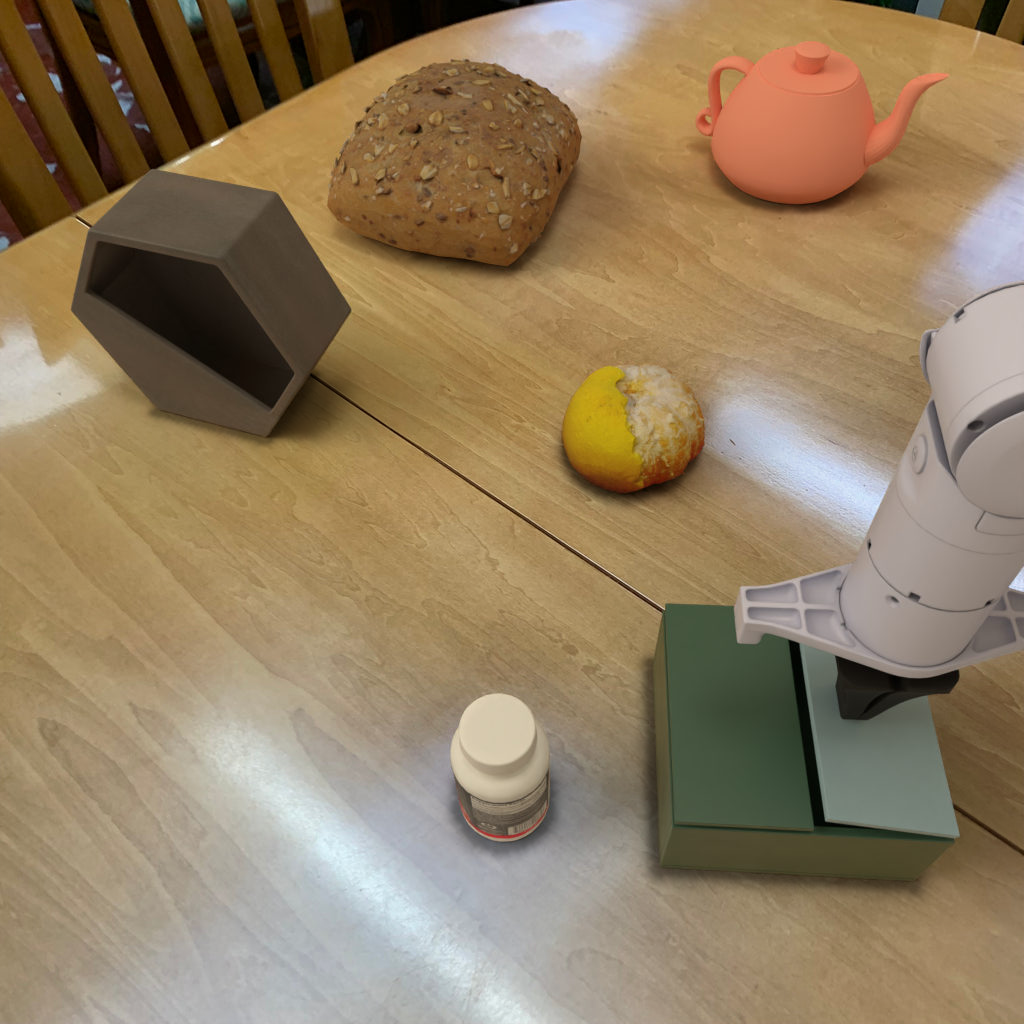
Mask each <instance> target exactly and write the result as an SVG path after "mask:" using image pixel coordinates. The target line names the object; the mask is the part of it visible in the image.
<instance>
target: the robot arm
mask: <svg viewBox="0 0 1024 1024" xmlns="http://www.w3.org/2000/svg"><path fill="white" fill-rule="evenodd" d="M918 359H919V364H920V368H921V372H922V375H923V377H924V379H925V381H926V382H927V384H928V385H929V387H930V390H931V393H930V396H929V398H928V401H927V403H926V406H925V407H924V410H923V411H922V414H921V416H920V418H919V420H918V422H917V425H916V427H915V429H914V431H913V433H912V435H911V438H910V440H909V442H908V444H907V446H906V448H905V450H904V452H903V453H902V454H901V455H902V456H901V458H900V459H899V462H898V464H897V466H896V469H895V471H894V472H893V475H892V478H891V479H890V481H889V484H888V486H887V488H886V490H885V493H884V494H883V497H882V499H881V502H880V504H879V505H878V508H877V510H876V512H875V514H874V516H873V518H872V521H871V523H870V525H869V527H868V529H867V532H866V534H865V536H864V539H863V540H862V543H861V545H860V547H859V549H858V552H857V554H856V555H855V557H854V559H853V562H849V563H846V564H845V563H844V564H842V565H838V566H835V567H831V568H828V569H824V570H820V571H816V572H814V573H813V572H812V573H809V574H806V575H802V576H798V577H795V578H791V579H787V580H784V581H780V582H776V583H771V584H764V585H762V584H761V585H740V587H739V589H738V593H737V596H736V599H735V603H734V605H733V606H734V615H735V627H736V635H737V643H739V644H758V643H759V642H760V641H761V638H762V635H763V634H765V633H768V634H773V635H776V636H779V637H783V638H786V639H789V640H792V641H795V642H798V643H801V644H804V645H807V646H810V647H813V648H816V649H819V650H822V651H825V652H827V653H830V654H833V655H835V659H836V665H837V671H838V675H837V681H836V686H835V687H836V693H837V699H838V705H839V711H840V717H841V718H842V719H849V720H869V719H871V718H873V717H875V716H877V715H879V714H881V713H882V712H884V711H886V710H888V709H890V708H892V707H894V706H896V705H898V704H900V703H902V702H905V701H908V700H910V699H914V698H918V697H922V696H933V695H934V696H935V695H949V694H951V692H952V691H953V690H954V688H955V687H956V685H957V684H958V682H959V680H960V677H961V676H960V669H964V668H967V667H971V666H974V665H977V664H981V663H985V662H988V661H990V660H995V659H997V658H1001V657H1004V656H1008V655H1011V654H1015V653H1018V652H1020V651H1024V591H1022V590H1019V589H1015V588H1011V587H1010V586H1011V584H1012V583H1013V582H1014V581H1015V580H1016V578H1017V576H1018V575H1019V574H1020V573H1021V571H1022V570H1023V568H1024V280H1015V281H1011V282H1005V283H1002V284H999V285H996V286H993V287H991V288H987V289H986V290H984V291H981V292H980V293H979V292H978V294H976V295H974V296H972V297H970V298H969V299H968V300H966V301H965V302H964V303H962V304H961V305H960V306H959V307H958V308H956V309H955V310H954V311H953V312H952V313H951V314H950V316H949V317H948V318H947V319H946V320H945V322H944V324H943V325H941V326H940V327H938V328H928V329H926V330H925V331H924V332H923V333H922V335H921V338H920V341H919V346H918Z"/></svg>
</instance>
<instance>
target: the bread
mask: <svg viewBox="0 0 1024 1024" xmlns="http://www.w3.org/2000/svg"><path fill="white" fill-rule="evenodd" d="M394 80H395V83H394V84H391V86H389V87H388V89H387V91H385V92H384V91H380V92H379V95H378V96H377V95H376V96H374V97H373V102H372V103H370V104H368V105H367V106H365V107H364V108H363V109H362V111H364V113H365V114H364V116H363V117H362V118H361V119H359V120H357V121H355V124H354V129H352V130H351V133H350V134H349V136H348V137H347V138H346V140H345V141H344V142H343V144H342V146H341V147H340V150H339V154H340V156H339V158H338V157H335V156H334V157H333V160H332V166H331V171H330V173H329V176H330V177H331V179H330V181H329V183H328V185H327V187H328V194H327V204H326V206H327V208H328V209H329V211H330V212H331V214H332V215H333V216H334V217H335V219H336V220H337V221H338V223H340V224H342V225H343V226H344V227H345V228H346V229H348V230H350V231H352V232H355V233H357V234H359V235H361V236H364V237H366V238H369V239H372V240H375V241H378V242H380V243H383V244H386V245H388V246H391V247H394V248H398V249H401V250H405V251H409V252H417V253H421V254H422V253H423V254H426V255H432V256H437V257H448V258H456V259H464V260H469V261H475V262H479V263H483V264H484V263H485V264H487V265H496V266H505V267H508V266H510V265H512V264H513V263H514V262H515V261H517V259H518V258H520V256H522V254H523V253H524V252H525V251H526V250H527V248H529V246H530V245H531V244H532V243H536V242H537V241H538V240H537V239H539V238H541V237H542V235H541V233H542V232H543V231H544V229H545V227H546V225H547V223H548V222H549V221H550V219H551V216H552V214H553V213H554V209H555V207H556V205H557V202H558V199H559V196H560V193H561V191H562V190H563V188H564V187H565V185H566V183H567V181H568V179H569V178H570V176H571V174H572V172H573V170H574V168H575V165H576V163H577V161H578V159H579V156H580V154H581V147H582V146H581V145H582V139H583V136H582V132H581V130H580V126H579V124H578V121H579V118H577V117H576V115H575V113H574V111H573V110H571V109H570V106H568V104H567V103H565V102H563V101H561V100H560V97H559V96H558V95H555V94H554V93H552V92H551V90H549V88H548V87H545V86H541V85H540V84H538V83H537V82H536V81H534V80H533V79H531V78H527V77H526V78H524V77H522V75H521V74H520V73H514V72H511V71H509V70H507V68H506V67H505V66H503V65H500V64H499V63H497V62H494V63H490V62H486V61H483V62H478V61H471V60H470V59H468V58H462V59H454V58H450V61H448V62H442V63H441V62H438V63H437V62H432V63H430V64H428V65H427V66H425V65H424V66H422V67H421V68H419V69H418V70H416V71H413V72H412V73H409V74H408V73H404V74H403V75H400V76H398V77H396V78H394Z"/></svg>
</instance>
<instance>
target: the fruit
mask: <svg viewBox="0 0 1024 1024" xmlns="http://www.w3.org/2000/svg"><path fill="white" fill-rule="evenodd" d="M705 421H706V419H705V417H704V414H703V411H702V408H701V406H700V404H699V396H697V397H695V393H694V391H693V389H692V388H691V387H690V386H689V385H688V384H687V383H686V382H685V381H684V380H683V379H681V378H679V377H678V376H677V375H674V374H673V372H672V371H671V370H670V369H669V368H667V367H663V366H659V365H658V364H657V363H655V362H643V363H641V364H639V365H633V364H622V363H621V364H618V365H616V366H614V365H606V366H602V367H601V368H598V369H596V370H594V371H593V372H592V373H591V374H589V375H588V376H587V377H586V379H585V380H584V381H583V382H582V383H581V384H580V386H579V387H578V388H577V389H576V390H575V392H574V393H573V395H572V397H571V399H570V401H569V403H568V406H567V408H566V411H565V413H564V417H563V421H562V425H561V426H562V427H561V442H562V445H563V448H564V451H565V454H566V456H567V460H568V461H569V464H570V465H571V467H572V468H573V469H574V470H575V471H576V472H577V473H578V474H579V475H580V476H581V477H582V478H583V480H585V481H586V482H589V483H590V485H593V486H595V487H598V488H600V489H602V490H605V491H611V492H614V493H615V492H616V493H617V494H619V495H621V494H623V495H625V494H627V493H633V492H637V491H639V490H643V489H644V488H647V487H649V486H651V485H661V484H663V483H664V482H667V481H671V480H673V479H676V478H678V477H679V476H680V475H685V472H684V471H685V470H686V468H687V466H688V464H689V462H691V461H693V460H694V459H696V458H697V457H698V456H699V455H700V454H701V452H702V450H703V447H704V446H706V443H705V439H706V438H705V437H706V425H705V424H706V423H705Z"/></svg>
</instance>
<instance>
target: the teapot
mask: <svg viewBox="0 0 1024 1024" xmlns="http://www.w3.org/2000/svg"><path fill="white" fill-rule="evenodd" d="M725 70H734V71H737V72H740V73H741V74H743V75H744V76H743V78H742V79H740V80H739V82H738V83H737V84H736V86H735V87H733V90H732V91H731V92H730V93H729V95H728V97H727V98H726V101H725V102H724V104H723V102H722V95H721V75H722V72H723V71H725ZM949 76H950V74H949V73H946V72H933V73H925V74H921V75H919V76H916V77H914V78H913V79H911V80H909V82H907V83H906V84H905V85H904V87H903V88H902V89H901V91H900V93H899V95H898V97H897V99H896V102H895V105H894V107H893V109H892V111H891V113H890V114H889V115H888V117H886V118H885V119H884V120H882V121H879V122H878V123H876V117H875V116H876V115H875V111H874V107H873V103H872V99H871V95H870V92H869V90H868V87H867V84H866V81H865V79H864V77H863V75H862V72H861V71H860V69H859V67H858V65H857V64H856V62H854V61H853V60H852V59H851V58H849V57H848V56H846V55H845V54H843V53H841V52H839V51H836V50H833V49H831V48H830V46H829V45H827V44H826V43H823V42H821V41H817V40H805V41H801V42H799V43H797V44H796V45H790V46H784V47H780V48H777V49H774V50H771V51H770V52H768V53H766V54H765V55H763V56H762V57H761V58H759V60H758V61H757V62H755V63H754V62H753V61H752V60H750V59H748V58H746V57H744V56H740V55H730V56H726V57H724V58H722V59H720V60H719V61H717V62H716V63H715V64H714V65H713V66H712V68H711V69H710V72H709V74H708V79H707V97H708V105H709V107H707V106H706V107H704V108H702V109H700V110H699V111H698V113H697V115H696V117H695V121H694V122H695V127H696V129H697V131H698V132H699V133H700V134H701V135H703V136H705V137H711V142H710V143H711V144H710V146H711V152H712V156H713V159H714V161H715V163H716V165H717V167H718V168H719V169H720V171H721V172H722V173H723V174H724V176H725V177H726V178H727V179H728V181H729V182H730V183H731V184H733V186H735V188H737V189H739V190H741V191H742V192H744V193H746V194H747V195H750V196H752V197H754V198H756V199H761V200H763V201H764V200H765V201H768V202H772V203H776V204H777V203H778V204H784V205H785V204H786V205H787V204H788V205H804V204H812V203H813V204H814V203H819V202H821V201H825V200H828V199H830V198H833V197H835V196H836V195H838V194H840V193H842V192H844V191H846V190H847V189H849V188H850V187H851V186H853V185H854V184H856V183H857V182H858V181H860V179H861V178H862V177H863V176H864V175H865V173H866V172H867V171H868V170H869V168H870V166H872V165H874V164H876V163H879V162H881V161H883V160H884V159H885V158H887V157H888V156H889V155H891V154H892V153H893V152H894V150H895V149H896V148H898V146H899V144H900V143H901V141H902V139H903V137H904V135H905V132H906V131H907V129H908V125H909V123H910V119H911V117H912V115H913V112H914V109H915V107H916V105H917V102H918V101H919V100H920V99H921V97H922V95H923V94H924V93H925V92H926V91H928V90H929V89H930V88H931V87H933V86H935V85H937V84H938V83H941V82H942V81H944V80H946V79H947V78H949ZM706 117H710V122H709V121H708V120H707V119H706Z"/></svg>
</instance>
